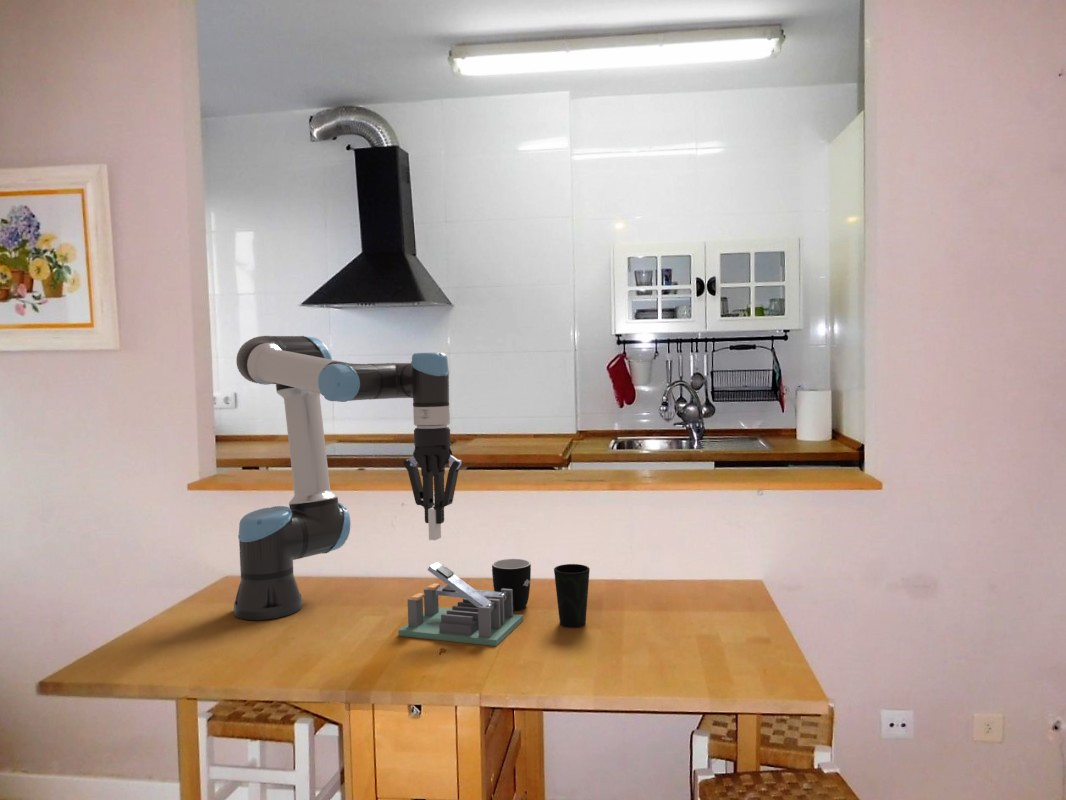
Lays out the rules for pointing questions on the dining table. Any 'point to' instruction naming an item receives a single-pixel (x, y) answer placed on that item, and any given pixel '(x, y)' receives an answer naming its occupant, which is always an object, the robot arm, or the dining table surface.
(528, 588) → the mug
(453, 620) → the socket board
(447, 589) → the strap far
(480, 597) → the strap near
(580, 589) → the cup
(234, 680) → the dining table surface
